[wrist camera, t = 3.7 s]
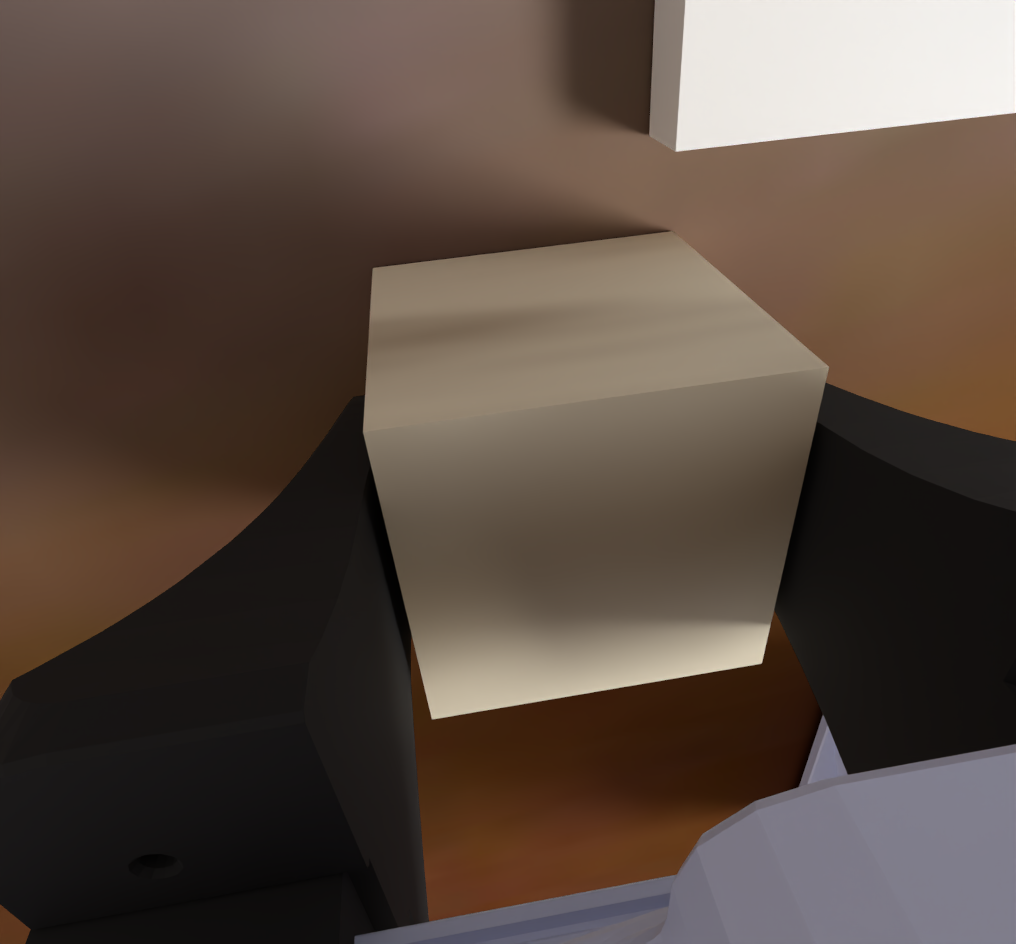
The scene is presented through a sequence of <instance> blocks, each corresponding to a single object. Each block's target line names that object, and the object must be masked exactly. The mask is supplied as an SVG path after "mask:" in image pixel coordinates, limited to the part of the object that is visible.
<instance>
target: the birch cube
mask: <svg viewBox="0 0 1016 944" xmlns="http://www.w3.org/2000/svg"><path fill="white" fill-rule="evenodd" d="M828 369H829V367H828V366H827V365H826V364H825V363H824V362H823V361H821V360H820V359H819V358H818V357H817V356H816V355H815V354H813V353H812V352H811V351H810V350H809V349H808V348H807V347H805V346H804V345H803V344H802V343H801V342H800V341H798V340H797V339H796V338H795V337H794V336H793V335H792V334H790V333H789V332H788V331H787V330H786V329H785V328H784V327H782V326H781V325H780V324H779V323H778V322H777V321H776V320H774V319H773V318H772V317H771V316H770V315H769V314H768V313H766V312H765V311H764V310H763V309H762V308H761V307H759V306H758V305H757V304H756V303H755V302H754V301H753V300H751V299H750V298H749V297H748V296H747V295H746V294H745V293H743V292H742V291H741V290H740V289H739V288H738V287H737V286H735V285H734V284H733V283H732V282H731V281H730V280H728V279H727V278H726V277H725V276H724V275H723V274H722V273H720V272H719V271H718V270H717V269H716V268H715V267H714V266H712V265H711V264H710V263H709V262H708V261H707V260H706V259H704V258H703V257H702V256H701V255H700V254H699V253H698V252H696V251H695V250H694V249H693V248H692V247H691V246H689V245H688V244H687V243H686V242H685V241H684V240H683V239H681V238H680V237H679V236H678V235H677V234H676V233H675V232H673V231H670V232H662V233H654V234H646V235H638V236H630V237H621V238H613V239H605V240H597V241H589V242H581V243H572V244H564V245H556V246H548V247H540V248H532V249H524V250H515V251H507V252H499V253H491V254H483V255H475V256H467V257H458V258H450V259H442V260H434V261H426V262H418V263H410V264H401V265H393V266H385V267H377V268H373V272H372V289H371V306H370V323H369V339H368V356H367V373H366V390H365V407H364V423H363V434H364V438H365V442H366V447H367V451H368V455H369V459H370V463H371V467H372V472H373V476H374V480H375V484H376V488H377V492H378V496H379V501H380V505H381V509H382V513H383V517H384V521H385V526H386V530H387V534H388V538H389V542H390V546H391V551H392V555H393V559H394V563H395V567H396V571H397V576H398V580H399V584H400V588H401V592H402V596H403V601H404V605H405V609H406V613H407V617H408V621H409V625H410V630H411V634H412V638H413V642H414V646H415V650H416V655H417V659H418V663H419V667H420V671H421V675H422V680H423V684H424V688H425V692H426V696H427V700H428V705H429V709H430V713H431V717H432V719H438V718H444V717H450V716H456V715H462V714H468V713H473V712H479V711H485V710H491V709H497V708H503V707H509V706H515V705H521V704H527V703H532V702H538V701H544V700H550V699H556V698H562V697H568V696H574V695H580V694H586V693H592V692H597V691H603V690H609V689H615V688H621V687H627V686H633V685H639V684H645V683H651V682H656V681H662V680H668V679H674V678H680V677H686V676H692V675H698V674H704V673H710V672H715V671H721V670H727V669H733V668H739V667H745V666H751V665H757V664H762V661H763V656H764V652H765V647H766V643H767V638H768V634H769V630H770V625H771V621H772V616H773V612H774V608H775V603H776V599H777V594H778V590H779V585H780V581H781V577H782V572H783V568H784V563H785V559H786V555H787V550H788V546H789V541H790V537H791V533H792V528H793V524H794V519H795V515H796V510H797V506H798V502H799V497H800V493H801V488H802V484H803V480H804V475H805V471H806V466H807V462H808V457H809V453H810V449H811V444H812V440H813V435H814V431H815V427H816V422H817V418H818V413H819V409H820V404H821V400H822V396H823V391H824V387H825V382H826V378H827V374H828Z"/></svg>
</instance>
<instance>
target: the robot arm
mask: <svg viewBox="0 0 1016 944" xmlns="http://www.w3.org/2000/svg"><path fill="white" fill-rule="evenodd" d="M364 407H365V395H363V396H356V397H353V398H352V399H351V401H350V402H349V403H348V404H347V406H346V407H345V409H344V410H343V412H342V413H341V415H340V416H339V417H338V419H337V420H336V422H335V423H334V425H333V426H332V428H331V429H330V431H329V432H328V434H327V435H326V436H325V438H324V439H323V441H322V442H321V443H320V445H319V446H318V447H317V449H316V450H315V451H314V453H313V454H312V455H311V457H310V458H309V459H308V461H307V462H306V463H305V465H304V466H303V467H302V469H301V470H300V471H299V472H298V473H297V475H296V476H295V477H294V478H293V479H292V480H291V482H290V483H289V484H288V485H287V486H286V487H285V489H284V490H283V491H282V492H281V493H280V495H279V496H278V497H277V498H276V499H275V500H274V501H273V502H272V503H271V504H270V505H269V506H268V507H267V508H266V509H265V510H264V511H263V512H262V513H261V514H260V515H259V516H258V517H257V518H256V519H255V520H254V521H253V522H252V523H250V524H249V525H248V526H247V527H246V528H245V529H244V530H243V531H242V532H241V533H240V534H239V535H238V536H236V537H235V538H234V539H233V540H232V541H231V542H229V543H228V544H227V545H226V546H224V547H223V548H222V549H221V550H219V551H218V552H217V553H215V554H214V555H213V556H212V557H210V558H209V559H208V560H207V561H205V562H204V563H203V564H201V565H200V566H199V567H198V568H196V569H195V570H194V571H193V572H191V573H190V574H189V575H187V576H186V577H185V578H184V579H182V580H181V581H179V582H178V583H177V584H175V585H174V586H172V587H171V588H169V589H168V590H166V591H165V592H163V593H162V594H161V595H159V596H158V597H156V598H155V599H153V600H152V601H150V602H149V603H147V604H146V605H144V606H142V607H141V608H139V609H138V610H136V611H135V612H133V613H131V614H130V615H128V616H127V617H125V618H124V619H122V620H120V621H119V622H117V623H116V624H114V625H112V626H110V627H109V628H107V629H105V630H104V631H102V632H100V633H99V634H97V635H95V636H93V637H92V638H90V639H88V640H86V641H84V642H82V643H81V644H79V645H77V646H75V647H73V648H71V649H70V650H68V651H66V652H64V653H62V654H61V655H59V656H57V657H55V658H53V659H51V660H50V661H48V662H46V663H44V664H42V665H40V666H39V667H37V668H35V669H33V670H31V671H29V672H27V673H25V674H23V675H21V676H19V677H18V678H16V679H14V680H12V682H11V683H10V685H9V687H8V688H7V690H6V692H5V693H4V695H3V697H2V699H1V700H0V904H1V905H2V906H3V907H4V908H6V909H7V910H8V911H9V912H10V913H12V914H13V915H14V916H15V917H17V918H18V919H19V920H20V921H21V922H23V923H24V924H25V925H26V926H27V927H29V928H30V929H31V930H30V933H29V936H28V938H27V941H26V944H1016V441H1011V440H1006V439H1002V438H997V437H993V436H989V435H985V434H980V433H976V432H972V431H968V430H965V429H961V428H958V427H954V426H950V425H947V424H943V423H940V422H936V421H933V420H929V419H925V418H922V417H919V416H916V415H913V414H909V413H906V412H903V411H900V410H897V409H894V408H892V407H889V406H886V405H883V404H880V403H878V402H875V401H872V400H869V399H866V398H864V397H861V396H858V395H856V394H853V393H851V392H848V391H845V390H843V389H840V388H838V387H835V386H833V385H830V384H828V383H825V387H824V391H823V396H822V400H821V404H820V409H819V413H818V418H817V422H816V427H815V431H814V435H813V440H812V444H811V449H810V453H809V457H808V462H807V466H806V471H805V475H804V480H803V484H802V488H801V493H800V497H799V502H798V506H797V510H796V515H795V519H794V524H793V528H792V533H791V537H790V541H789V546H788V550H787V555H786V559H785V563H784V568H783V572H782V577H781V581H780V585H779V590H778V594H777V599H776V603H775V608H774V611H775V612H776V614H777V616H778V618H779V620H780V622H781V624H782V626H783V628H784V630H785V633H786V635H787V637H788V639H789V641H790V643H791V645H792V647H793V649H794V651H795V653H796V656H797V658H798V660H799V662H800V664H801V666H802V668H803V671H804V673H805V675H806V677H807V680H808V682H809V684H810V686H811V689H812V691H813V693H814V695H815V698H816V700H817V702H818V704H819V707H820V709H821V711H822V713H823V716H822V719H821V722H820V725H819V728H818V731H817V734H816V737H815V740H814V743H813V746H812V749H811V752H810V755H809V758H808V761H807V764H806V767H805V770H804V773H803V776H802V779H801V782H800V785H799V787H798V788H795V789H792V790H788V791H785V792H782V793H779V794H776V795H773V796H769V797H766V798H763V799H760V800H757V801H754V802H753V803H751V804H750V805H748V806H746V807H745V808H743V809H742V810H740V811H739V812H737V813H735V814H734V815H732V816H731V817H729V818H727V819H726V820H724V821H723V822H721V823H720V824H718V825H716V826H715V827H713V828H712V829H710V830H708V831H707V832H705V833H704V834H702V836H701V837H700V839H699V840H698V842H697V843H696V845H695V846H694V848H693V850H692V851H691V853H690V854H689V856H688V857H687V859H686V860H685V862H684V863H683V865H682V866H681V868H680V870H679V872H678V874H677V875H672V876H667V877H662V878H657V879H651V880H646V881H641V882H636V883H630V884H625V885H620V886H615V887H609V888H604V889H599V890H593V891H588V892H583V893H578V894H572V895H567V896H562V897H557V898H551V899H546V900H541V901H536V902H530V903H525V904H520V905H515V906H509V907H504V908H499V909H494V910H488V911H483V912H478V913H472V914H467V915H462V916H457V917H451V918H446V919H441V920H436V921H430V922H429V918H428V906H427V895H426V883H425V872H424V860H423V847H422V834H421V822H420V809H419V796H418V782H417V768H416V754H415V739H414V724H413V708H412V692H411V630H410V625H409V621H408V617H407V613H406V609H405V605H404V601H403V596H402V592H401V588H400V584H399V580H398V576H397V571H396V567H395V563H394V559H393V555H392V551H391V546H390V542H389V538H388V534H387V530H386V526H385V521H384V517H383V513H382V509H381V505H380V501H379V496H378V492H377V488H376V484H375V480H374V476H373V472H372V467H371V463H370V459H369V455H368V451H367V447H366V442H365V438H364V434H363V423H364Z"/></svg>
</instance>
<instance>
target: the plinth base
mask: <svg viewBox="0 0 1016 944" xmlns="http://www.w3.org/2000/svg"><path fill="white" fill-rule="evenodd" d="M1008 113H1016V0H655V11H654V35H653V58H652V81H651V105H650V128H649V136H650V137H652V138H653V139H655V140H657V141H659V142H660V143H662V144H664V145H665V146H667V147H669V148H670V149H672V150H674V151H685V150H694V149H703V148H711V147H720V146H729V145H737V144H746V143H755V142H764V141H772V140H781V139H790V138H799V137H807V136H816V135H825V134H834V133H842V132H851V131H860V130H869V129H877V128H886V127H895V126H904V125H912V124H921V123H930V122H938V121H947V120H956V119H965V118H973V117H982V116H991V115H1000V114H1008Z"/></svg>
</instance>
